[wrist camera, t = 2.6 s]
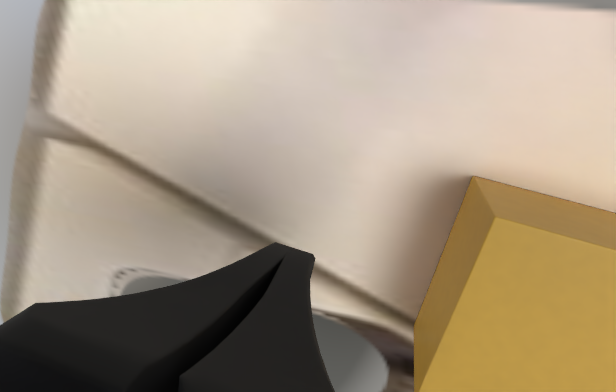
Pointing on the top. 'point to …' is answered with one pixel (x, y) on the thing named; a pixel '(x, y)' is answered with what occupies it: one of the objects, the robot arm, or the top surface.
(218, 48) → the top surface
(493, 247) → the block
